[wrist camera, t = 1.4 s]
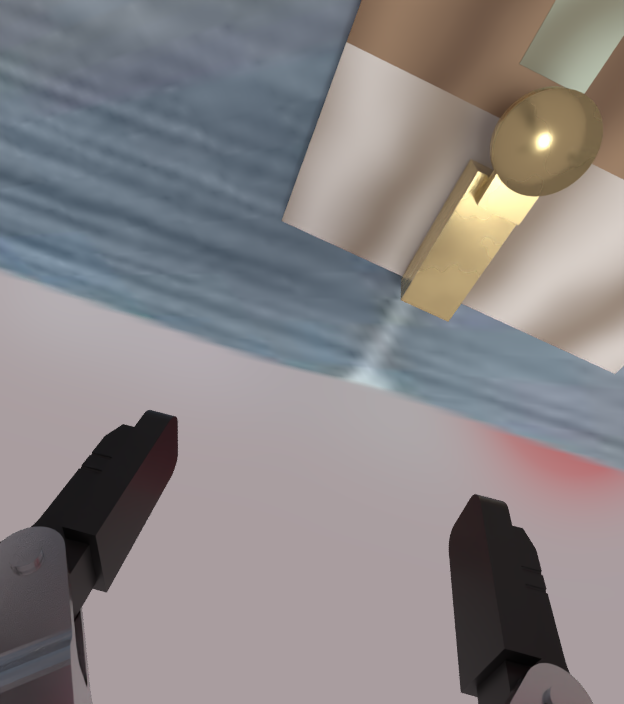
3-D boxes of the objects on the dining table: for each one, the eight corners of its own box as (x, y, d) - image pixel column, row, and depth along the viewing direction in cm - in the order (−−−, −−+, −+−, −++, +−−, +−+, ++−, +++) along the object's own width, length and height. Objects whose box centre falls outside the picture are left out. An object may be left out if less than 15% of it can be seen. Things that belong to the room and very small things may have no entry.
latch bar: (511, 65, 19) (535, 68, 16) (587, 104, 20) (627, 115, 16) (393, 274, 26) (391, 310, 22) (452, 301, 26) (459, 341, 22)
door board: (287, 212, 27) (266, 241, 23) (452, -235, 16) (467, -331, 12) (605, 358, 28) (638, 410, 24) (937, 36, 18) (1093, 31, 14)
